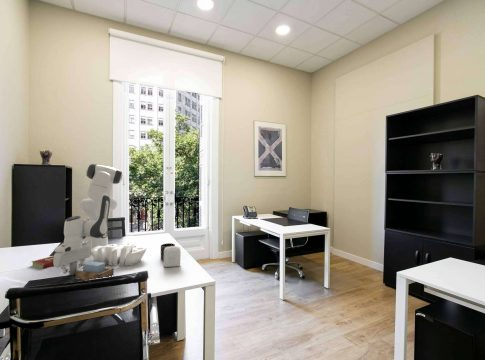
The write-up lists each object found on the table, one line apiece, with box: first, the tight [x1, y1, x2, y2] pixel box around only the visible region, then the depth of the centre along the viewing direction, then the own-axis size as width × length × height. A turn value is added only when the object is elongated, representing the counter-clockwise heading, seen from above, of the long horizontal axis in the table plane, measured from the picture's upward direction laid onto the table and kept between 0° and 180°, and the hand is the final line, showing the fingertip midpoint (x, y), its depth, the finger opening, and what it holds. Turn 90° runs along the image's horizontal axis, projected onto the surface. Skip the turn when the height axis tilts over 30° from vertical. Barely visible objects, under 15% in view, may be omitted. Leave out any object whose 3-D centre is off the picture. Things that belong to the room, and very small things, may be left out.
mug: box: [160, 242, 176, 261], centre depth 171 cm, size 9×12×9 cm
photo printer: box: [163, 245, 181, 268], centre depth 157 cm, size 10×4×12 cm, turn 103°
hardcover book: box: [31, 255, 55, 270], centre depth 159 cm, size 12×21×4 cm, turn 155°
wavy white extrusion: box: [91, 242, 148, 267], centre depth 163 cm, size 35×16×11 cm, turn 89°
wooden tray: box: [75, 266, 115, 281], centre depth 137 cm, size 16×9×4 cm, turn 74°
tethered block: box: [68, 260, 106, 276], centre depth 139 cm, size 22×5×8 cm, turn 74°
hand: (73, 269), depth 142 cm, fingers open, 8 cm apart
